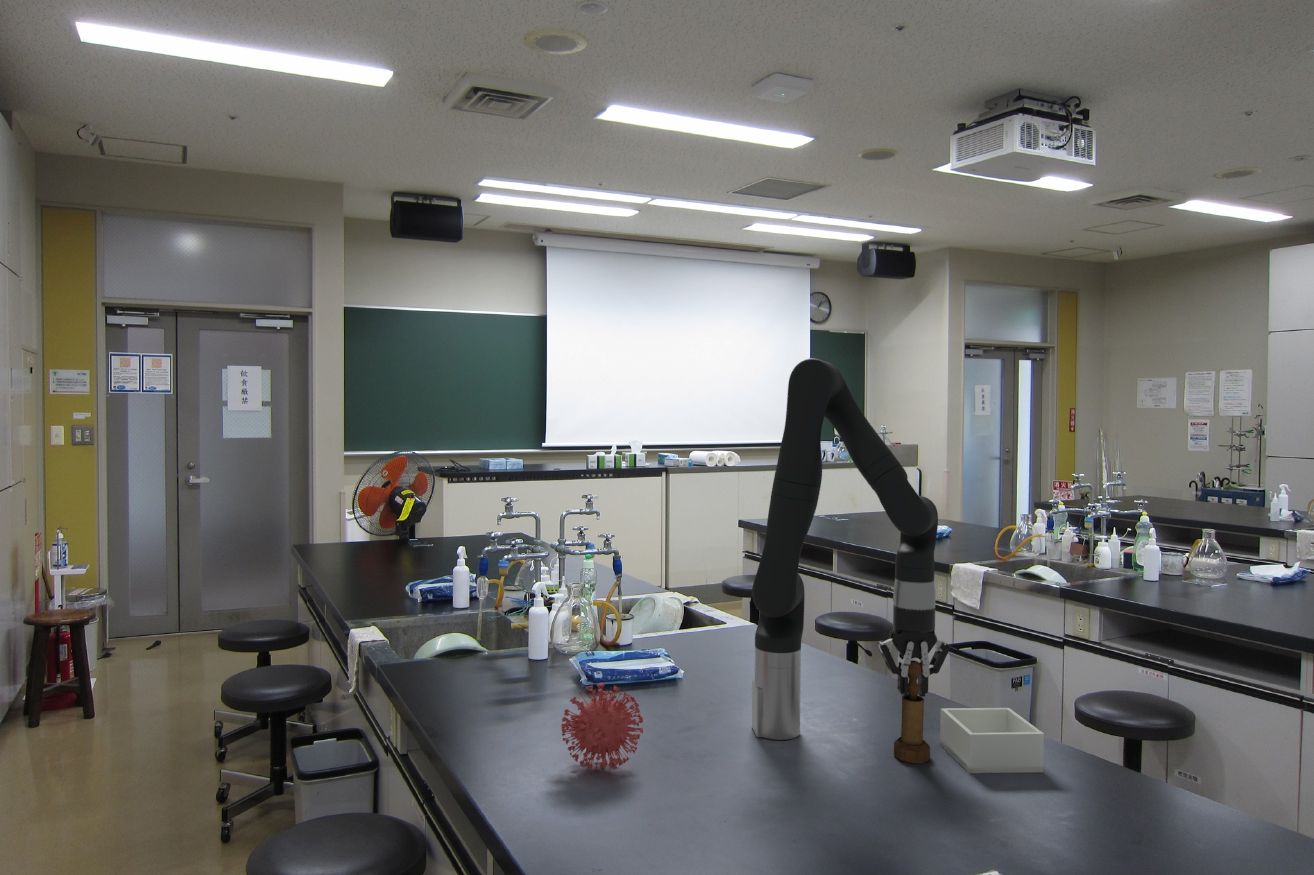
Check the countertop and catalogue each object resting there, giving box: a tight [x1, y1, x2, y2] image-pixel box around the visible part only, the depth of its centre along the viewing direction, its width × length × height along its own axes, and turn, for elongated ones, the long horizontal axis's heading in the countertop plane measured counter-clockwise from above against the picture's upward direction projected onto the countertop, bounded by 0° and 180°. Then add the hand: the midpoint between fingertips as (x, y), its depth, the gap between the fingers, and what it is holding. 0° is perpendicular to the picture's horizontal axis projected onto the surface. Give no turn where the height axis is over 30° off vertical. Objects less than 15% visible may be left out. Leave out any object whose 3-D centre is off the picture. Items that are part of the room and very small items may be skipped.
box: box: [939, 707, 1045, 774], centre depth 159 cm, size 14×14×7 cm
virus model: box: [560, 682, 644, 771], centre depth 153 cm, size 15×15×15 cm
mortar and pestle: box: [893, 659, 931, 764], centre depth 159 cm, size 7×6×18 cm
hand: (912, 695), depth 159 cm, fingers closed on mortar and pestle, 2 cm apart
